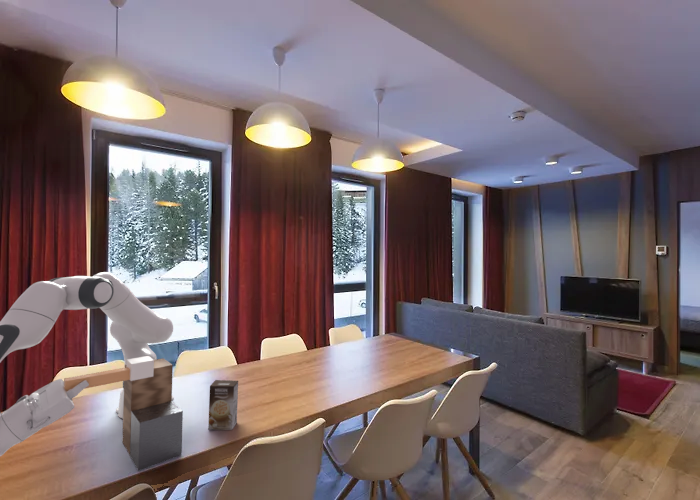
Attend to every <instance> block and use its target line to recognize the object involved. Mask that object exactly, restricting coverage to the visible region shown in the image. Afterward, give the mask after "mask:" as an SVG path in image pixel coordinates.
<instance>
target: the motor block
mask: <svg viewBox="0 0 700 500" xmlns="http://www.w3.org/2000/svg"><path fill="white" fill-rule="evenodd" d="M183 411H184V410H182V408H180V406H179V405H177V404H176V403H175V402H174V401H173V400H172V401H169V402H165V403H161V404H158V405H154V406H150V407H146V408H142V409H138V410H134V411H131V439H130V455H129V457H130V459H131V461H132V462H133V464H134V466H135V468H136V470H137V472H140V471H142V470H145V469H147V468H148V469H149V468H151V467H153V466H156V465H159V464H162V463H164V462H167V461H170V460H172V459H176V458H179V457H181V456H182V452H183V451H182V450H183V447H182V446H183V419H184V417H183V415H184V413H183Z"/></svg>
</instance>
